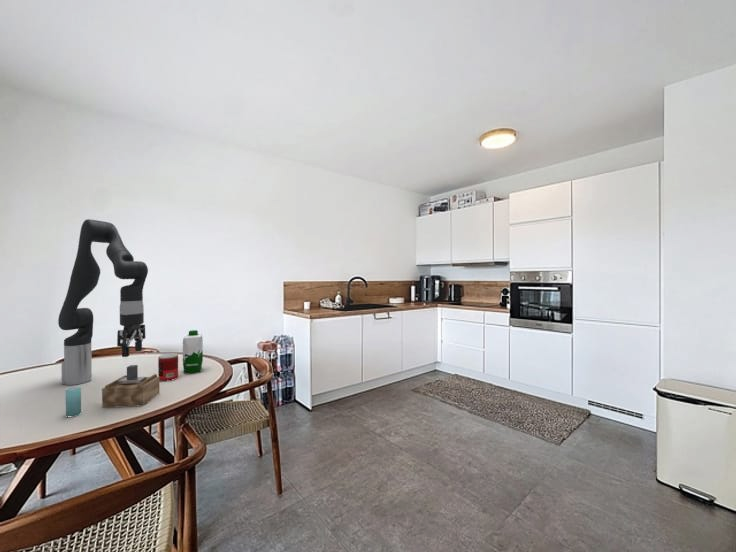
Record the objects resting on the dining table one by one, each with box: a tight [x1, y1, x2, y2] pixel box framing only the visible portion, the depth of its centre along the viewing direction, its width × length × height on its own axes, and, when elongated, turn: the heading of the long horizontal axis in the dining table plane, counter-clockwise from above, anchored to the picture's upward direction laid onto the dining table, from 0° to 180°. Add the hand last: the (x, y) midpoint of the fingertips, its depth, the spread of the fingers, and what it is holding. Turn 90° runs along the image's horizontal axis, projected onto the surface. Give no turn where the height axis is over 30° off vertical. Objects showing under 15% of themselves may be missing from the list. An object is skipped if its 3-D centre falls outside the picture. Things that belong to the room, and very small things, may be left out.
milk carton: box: [182, 329, 204, 375], centre depth 161 cm, size 9×9×20 cm
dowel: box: [65, 386, 82, 418], centre depth 113 cm, size 4×4×9 cm
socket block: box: [101, 373, 160, 408], centre depth 125 cm, size 14×12×8 cm
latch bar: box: [118, 364, 147, 384], centre depth 125 cm, size 8×4×6 cm, turn 98°
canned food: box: [157, 352, 179, 382], centre depth 150 cm, size 8×8×11 cm
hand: (132, 353), depth 125 cm, fingers open, 8 cm apart
